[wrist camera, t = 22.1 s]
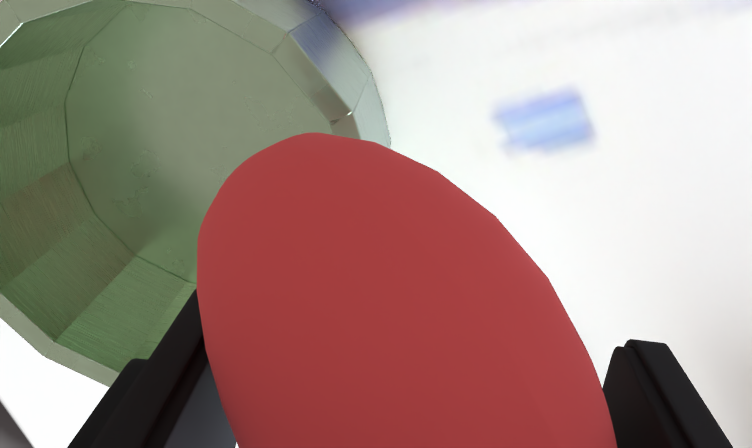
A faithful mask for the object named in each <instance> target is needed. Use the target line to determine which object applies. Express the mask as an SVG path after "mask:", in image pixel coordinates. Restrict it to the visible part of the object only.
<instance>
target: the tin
mask: <svg viewBox="0 0 752 448" xmlns="http://www.w3.org/2000/svg"><path fill="white" fill-rule="evenodd" d="M314 132H319V133H325V134H331V135H337V136H342V137H348V138H354V139H360V140H366V141H372V142H376V143H378V144H380V145H383V146H385V147H387V148H389V149H390V145H391V141H390V140H391V138H390V134H389V131H388V127H387V123H386V119H385V114H384V110H383V105H382V102H381V99H380V96H379V93H378V91H377V88H376V85H375V82H374V79H373V75H372V72H371V71H370V69H369V68H368V66H367V65H366V64H365V63H364V61H363V59H362V58H361V56H360V55H359V53H358V52H357V50H356V49H355V47H354V46H353V44H352V43H351V42H350V40H349V39H348V38H347V37H346V36H345V34H344V33H343V32H342V31H341V30H340V29H339V28H338V27H337V25H336V24H335V23H334V22H333V21H332V20H331V19H330V18H329V17H328V15H327V14H326V13H325V12H323V10H321V9H319V8H318V7H316V6H315V5H313V4H312V3H310V2H309V1H307V0H2V1H1V3H0V318H2V319H3V320H4V321H5V322H6V323H7V324H8V325H9V326H10V327H12V328H13V329H14V330H15V331H16V332H17V333H18V334H19V335H20V336H22V337H23V338H24V339H25V340H26V341H27V342H28V343H29V344H30V345H32V346H33V347H34V348H35V349H36V350H37V351H38V352H39V353H40V354H42V355H43V356H45V357H46V358H48V359H50V360H53V361H55V362H57V363H59V364H61V365H63V366H65V367H68V368H70V369H72V370H74V371H76V372H78V373H80V374H83V375H85V376H87V377H89V378H91V379H93V380H95V381H97V382H100V383H102V384H104V385H106V386H108V387H111V385H112V384H113V383H114V381H115V380H116V378H117V377H118V375H119V374H120V373H121V371H122V370H123V368H124V367H125V366H126V364H127V363H128V362H129V361H130V360H132V359H135V358H139V359H147V360H148V359H149V357H150V356H151V354H152V353H153V351H154V350H155V348H156V347H157V345H158V344H159V342H160V341H161V339H162V338H163V336H164V335H165V333H166V332H167V330H168V329H169V327H170V326H171V324H172V323H173V321H174V320H175V318H176V317H177V315H178V314H179V312H180V311H181V309H182V308H183V306H184V305H185V303H186V302H187V300H188V299H189V297H190V296H191V294H192V293H193V291H194V290H195V289H196V288H197V240H198V235H199V231H200V227H201V224H202V222H203V219H204V217H205V215H206V212H207V211H208V209H209V207H210V205H211V204H212V202H213V200H214V198H215V197H216V195H217V193H218V191H219V189H220V188H221V186H222V185H223V183H224V182H225V181H226V179H227V178H228V177H229V176H230V175H231V173H232V172H233V171H234V170H235V169H236V168H237V167H238V166H239V165H241V164H242V163H243V162H244V161H245V160H247V159H248V158H249V157H251V156H252V155H254V154H256V153H257V152H259V151H261V150H263V149H265V148H267V147H269V146H271V145H273V144H275V143H277V142H279V141H282V140H284V139H287V138H289V137H292V136H295V135H299V134H304V133H314Z"/></svg>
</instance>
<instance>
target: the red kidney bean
mask: <svg viewBox="0 0 752 448" xmlns="http://www.w3.org/2000/svg"><path fill="white" fill-rule="evenodd" d="M197 297H198V303H199V310H200V316H201V323H202V329H203V336H204V342H205V349H206V353H207V356H208V359H209V363H210V366H211V370H212V373H213V376H214V380H215V383H216V387H217V390H218V393H219V397H220V400H221V404H222V407H223V409H224V412H225V414H226V417H227V419H228V422H229V424H230V426H231V429H232V431H233V434H234V436H235V439H236V441H237V444H238V446H239V448H617V443H616V438H615V433H614V428H613V424H612V420H611V416H610V413H609V409H608V406H607V402H606V399H605V396H604V393H603V390H602V387H601V384H600V381H599V378H598V376H597V373H596V370H595V368H594V365H593V363H592V360H591V358H590V356H589V354H588V352H587V350H586V348H585V346H584V344H583V342H582V340H581V338H580V336H579V335H578V333H577V331H576V329H575V327H574V325H573V323H572V322H571V320H570V318H569V316H568V314H567V312H566V311H565V309H564V307H563V305H562V303H561V301H560V299H559V298H558V296H557V294H556V292H555V290H554V288H553V287H552V285H551V283H550V281H549V279H548V277H547V276H546V275H545V274H544V273H543V272H542V270H541V269H540V268H539V267H538V266H537V265H536V263H535V262H534V261H533V260H532V259H531V257H530V256H529V255H528V254H527V253H526V252H525V250H524V249H523V248H522V247H521V246H520V245H519V243H518V242H517V241H516V240H515V239H514V238H513V236H512V235H511V234H510V233H509V232H508V230H507V229H506V228H505V227H504V226H503V225H502V223H501V222H500V221H499V220H498V219H497V218H496V216H494V215H493V214H492V213H490V212H489V211H488V210H487V209H485V208H484V207H483V206H481V205H480V204H479V203H478V202H476V201H475V200H474V199H472V198H471V197H470V196H468V195H467V194H466V193H465V192H463V191H462V190H461V189H459V188H458V187H457V186H456V185H454V184H453V183H452V182H450V181H449V180H448V179H447V178H445V177H444V176H443V175H441V174H440V173H439V172H437V171H435V170H433V169H431V168H429V167H427V166H425V165H423V164H421V163H418V162H416V161H414V160H412V159H410V158H408V157H406V156H404V155H402V154H399V153H397V152H395V151H393V150H391V149H389V148H387V147H385V146H383V145H380V144H378V143H376V142H372V141H366V140H360V139H354V138H348V137H342V136H337V135H331V134H325V133H319V132H314V133H304V134H299V135H295V136H292V137H289V138H287V139H284V140H282V141H279V142H277V143H275V144H273V145H271V146H269V147H267V148H265V149H263V150H261V151H259V152H257V153H256V154H254V155H252V156H251V157H249V158H248V159H247V160H245V161H244V162H243V163H242V164H241V165H239V166H238V167H237V168H236V169H235V170H234V171H233V172H232V173H231V175H230V176H229V177H228V178H227V179H226V181H225V182H224V183H223V185H222V186H221V188H220V189H219V191H218V193H217V195H216V197H215V198H214V200H213V202H212V204H211V205H210V207H209V209H208V211H207V212H206V215H205V217H204V219H203V222H202V224H201V227H200V231H199V235H198V240H197Z"/></svg>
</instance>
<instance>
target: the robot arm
mask: <svg viewBox="0 0 752 448" xmlns="http://www.w3.org/2000/svg"><path fill="white" fill-rule="evenodd" d="M602 390H603V393H604V396H605V399H606V402H607V406H608V409H609V413H610V416H611V420H612V424H613V428H614V433H615V438H616V443H617V448H733V447H732V445H731V443H730V442H729V440H728V439H727V437H726V436H725V434H724V433H723V431H722V429H721V428H720V426H719V425H718V423H717V422H716V420H715V419H714V417H713V415H712V414H711V412H710V411H709V409H708V408H707V406H706V405H705V403H704V401H703V400H702V398H701V397H700V395H699V394H698V392H697V391H696V389H695V387H694V386H693V384H692V383H691V381H690V380H689V378H688V377H687V375H686V373H685V372H684V370H683V369H682V367H681V366H680V364H679V363H678V361H677V359H676V358H675V356H674V355H673V353H672V352H671V350H670V349H669V347H668V346H667V345H666V344H664V343H658V342H650V341H641V340H633V339H630V340H628V341H627V342H626V344H625V346H624V347H620V346H618V347H616V348H615V349H614V351H613V354H612V357H611V360H610V364H609V367H608V371H607V374H606V378H605V381H604V385H603V388H602ZM235 446H236V439H235V436H234V434H233V431H232V429H231V426H230V424H229V422H228V419H227V417H226V414H225V412H224V409H223V407H222V404H221V400H220V397H219V393H218V390H217V387H216V383H215V380H214V376H213V373H212V370H211V366H210V363H209V359H208V356H207V353H206V349H205V342H204V336H203V329H202V323H201V316H200V310H199V303H198V297H197V288H196V289H195V290H194V291H193V293H192V294H191V296H190V297H189V299H188V300H187V302H186V303H185V305H184V306H183V308H182V309H181V311H180V312H179V314H178V315H177V317H176V318H175V320H174V321H173V323H172V324H171V326H170V327H169V329H168V330H167V332H166V333H165V335H164V336H163V338H162V339H161V341H160V342H159V344H158V345H157V347H156V348H155V350H154V351H153V353H152V354H151V356H150V357H149V359H148V360H147V359H139V358H135V359H132V360H130V361H129V362H128V363H127V364H126V366H125V367H124V368H123V370H122V371H121V373H120V374H119V375H118V377H117V378H116V380H115V381H114V383H113V384H112V385H111V387H110V388H109V390H108V391H107V392H106V394H105V395H104V397H103V398H102V399H101V401H100V402H99V404H98V405H97V407H96V408H95V409H94V411H93V412H92V414H91V415H90V416H89V418H88V419H87V421H86V422H85V423H84V425H83V426H82V428H81V429H80V430H79V432H78V433H77V435H76V436H75V438H74V439H73V440H72V442H71V443H70V445H69V446H68V447H67V448H235Z"/></svg>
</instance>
